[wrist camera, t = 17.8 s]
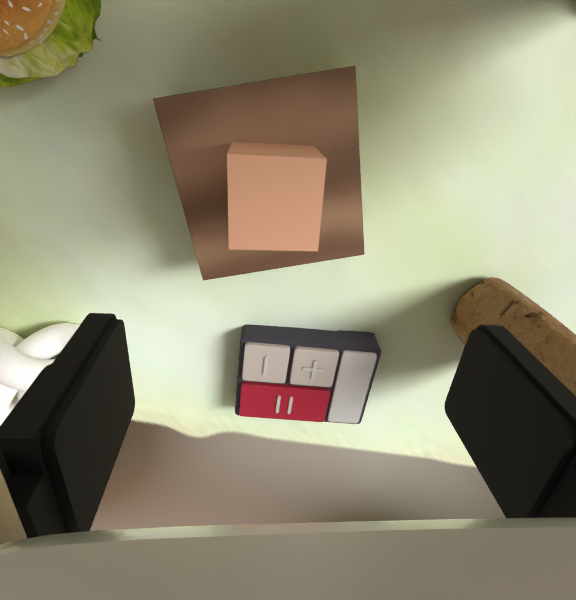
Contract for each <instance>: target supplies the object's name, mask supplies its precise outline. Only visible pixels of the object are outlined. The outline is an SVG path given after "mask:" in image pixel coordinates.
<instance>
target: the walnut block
mask: <svg viewBox="0 0 576 600" xmlns="http://www.w3.org/2000/svg"><path fill="white" fill-rule="evenodd" d="M153 101H154V104H155V108H156V112H157V115H158V119H159V123H160V126H161V130H162V133H163V137H164V141H165V144H166V148H167V151H168V155H169V159H170V162H171V166H172V170H173V173H174V177H175V180H176V184H177V188H178V191H179V195H180V198H181V202H182V206H183V209H184V213H185V216H186V220H187V224H188V227H189V231H190V235H191V238H192V242H193V245H194V249H195V253H196V256H197V260H198V263H199V267H200V271H201V274H202V278H203V280H208V279H214V278H221V277H227V276H233V275H239V274H246V273H252V272H258V271H264V270H271V269H277V268H283V267H289V266H295V265H302V264H308V263H314V262H320V261H327V260H333V259H339V258H345V257H352V256H358V255H364V236H363V216H362V196H361V175H360V155H359V134H358V114H357V93H356V73H355V66H351V67H345V68H339V69H333V70H326V71H320V72H314V73H308V74H302V75H296V76H289V77H283V78H277V79H271V80H265V81H259V82H252V83H246V84H240V85H234V86H228V87H222V88H216V89H209V90H203V91H197V92H191V93H185V94H179V95H172V96H166V97H160V98H154V99H153ZM232 142H248V143H268V144H289V145H309V146H314V147H316V148H317V149H318V150H319V151H320V152H321V153H322V154H323V155H324V156H325V157H326V158H327V164H326V174H325V184H324V195H323V205H322V215H321V226H320V236H319V246H318V251H277V250H233V249H229V233H228V180H227V153H228V150H229V148H230V145H231V143H232Z"/></svg>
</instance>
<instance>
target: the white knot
mask: <svg viewBox="0 0 576 600" xmlns="http://www.w3.org/2000/svg"><path fill="white" fill-rule="evenodd" d="M79 326H80V325H78V324H72V323H59V324H55V325H51V326H48V327H45V328H43V329H41V330H39V331H37V332H35V333H33V334H31V335H30V336H28V337H27V338H26V339H23V338H22V337H20V336H19V335H17V334H16V333H14V332H12V331H9V330H7V329H5V328H2V327H0V426H1V424H2V423H3V422H4V420H5V419H6V418H7V416H8V415H9V414H10V412H11V411H12V410H13V408H14V407H15V405H16V404H17V403H18V401H19V400H20V399H21V397H22V396H23V395H24V393H25V392H26V391H27V389H28V388H29V387H30V385H31V384H32V383H33V381H34V380H35V379H36V377H37V376H38V375H39V373H40V372H41V371H42V370H43V369H44V368H45V367H46V366H47V365H50V364H52V363H53V362H54V360H55V359H51V358H52V357H54V356H55V355H57V354H59V353H60V352H61V351H62V349H63V348H64V347H65V345H66V344H67V342H68V341H69V340H70V338H71V337H72V336H73V334H74V333H75V331H76V330H77V329H78V327H79ZM49 359H51V360H49ZM15 395H16V396H17V399H18V400H17V401H15V402H11V401H12V400H13V398H14V396H15Z"/></svg>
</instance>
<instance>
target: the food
mask: <svg viewBox="0 0 576 600" xmlns="http://www.w3.org/2000/svg"><path fill="white" fill-rule="evenodd" d="M100 8H101V2H100V0H0V87H12V86H15V85H18V84H22V83H26V82H30V81H34V80H37V79H41V78H44V77H52V76H56V75H58V74H60V73H61V72H62V71H63V70H65V69H66V68H68V67H76V65H77V61H78V57H82V55H83V54H84V53H87V52H88V51H90V50H91V49H92V47H93V40H94V39H98V38H97V36H96V33H95V30H94V28H95V21H96V20H97V18H98V17H99V16H100ZM98 40H100V39H98ZM100 41H101V40H100Z"/></svg>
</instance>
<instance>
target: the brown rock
mask: <svg viewBox="0 0 576 600" xmlns="http://www.w3.org/2000/svg"><path fill="white" fill-rule="evenodd" d="M451 323H452V327H453V328H454V330H455V331H456V333H457V335H458V336H459V338H460V339H461V340H462V342H463V343H464V344H465V345H466V342H467V339H468V337H469V334H470V332H471V331H472V330H474V329H476V328H477V327H478V326H479V325H502V326H504V327H505V328H506V329H507V330H508V331H509V332H510V333H511V334H512V335H513V336H514V337H515V338H516V339H517V340H518V341H519V342H521V343H522V344H523V345H524V346H525V347H526V348H527V349H528V350H529V351H530V352H531V353H532V354H533V355H534V356H535V357H536V358H537V359H538V360H539V361H540V362H541V363H542V364H543V365H544V366H545V367H546V368H547V369H548V370H549V371H550V372H551V373H552V374H553V375H554V376H555V377H557V378H558V379H559V380H560V381H561V382H562V383H563V384H564V385H565V386H566V387H567V388H568V389H569V390H570V391H571V392H572V393H573V394H574V395H575V396H576V335H575V334H574V333H573V332H572V331H570V330H569V329H568V328H567V327H565V326H564V325H563V324H562V323H560V322H559V321H558V320H557V319H556V318H554V317H553V316H552V315H551V314H549V313H548V312H547V311H545V310H544V309H543V308H541V307H540V306H539V305H537V304H536V303H535V302H533V301H532V300H531V299H529V298H528V297H526V296H525V295H524V294H522V293H521V292H520V291H518V290H517V289H515V288H514V287H512V286H511V285H510V284H508V283H506V282H505V281H503V280H501V279H498V278H487V279H485V280H483V281H482V282H481V283H479V284H478V285H476V286H474V287H473V288H472V289H470V290H469V291H468V292H467V293H466V294H464V295H463V296H462V297H461V298H460V299H459V301H458V303H457V307H456V311H455V313H454V315H453V317H452V319H451Z"/></svg>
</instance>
